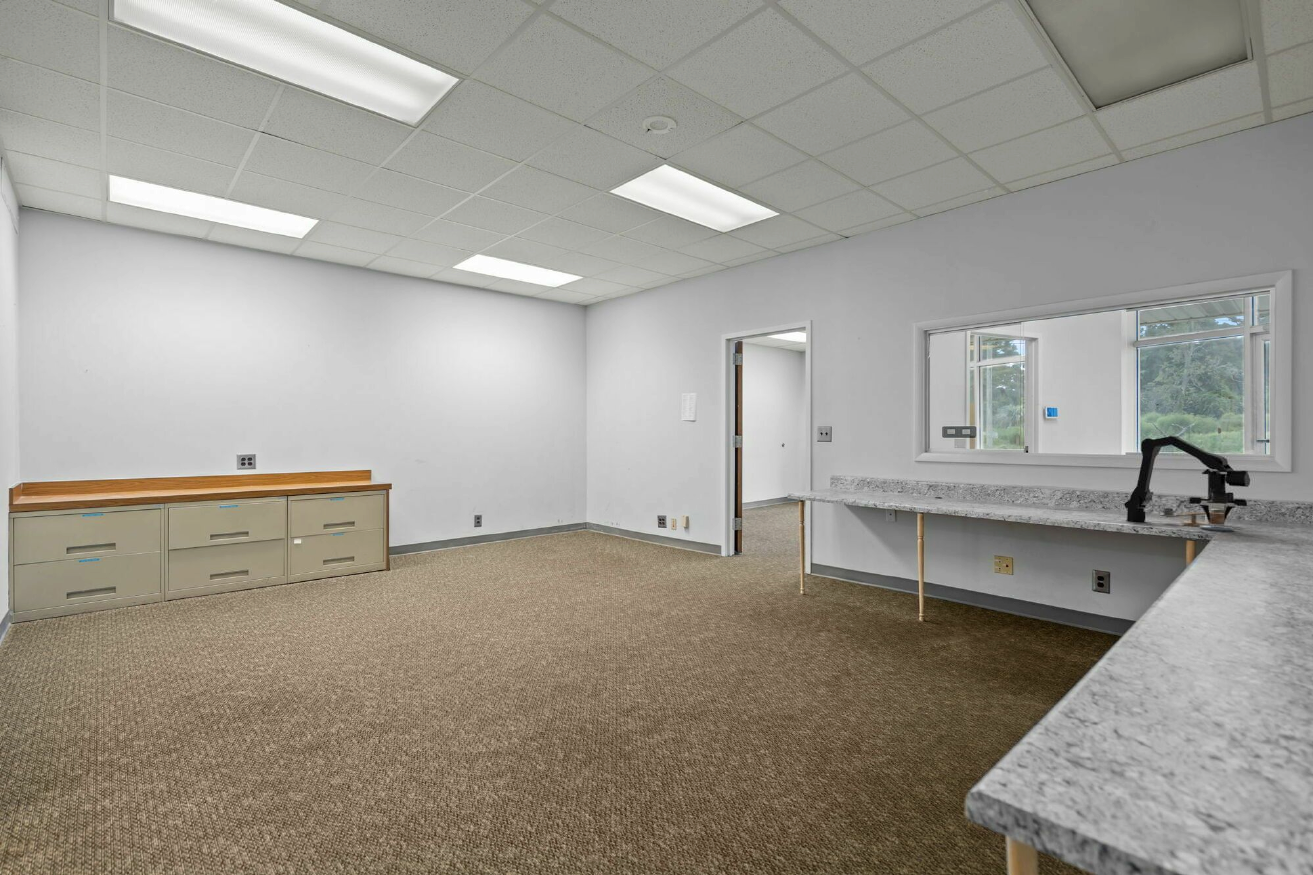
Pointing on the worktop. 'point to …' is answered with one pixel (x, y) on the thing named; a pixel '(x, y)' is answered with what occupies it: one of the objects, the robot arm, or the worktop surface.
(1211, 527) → the dish
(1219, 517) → the block
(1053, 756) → the worktop surface
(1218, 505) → the mug
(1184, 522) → the balance
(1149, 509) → the worktop surface
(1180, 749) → the worktop surface
